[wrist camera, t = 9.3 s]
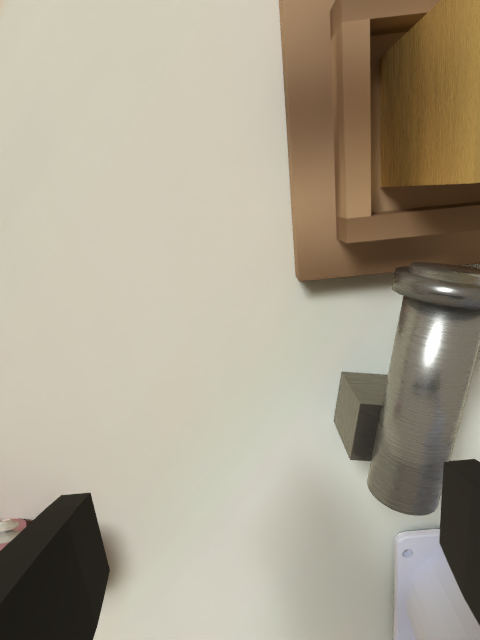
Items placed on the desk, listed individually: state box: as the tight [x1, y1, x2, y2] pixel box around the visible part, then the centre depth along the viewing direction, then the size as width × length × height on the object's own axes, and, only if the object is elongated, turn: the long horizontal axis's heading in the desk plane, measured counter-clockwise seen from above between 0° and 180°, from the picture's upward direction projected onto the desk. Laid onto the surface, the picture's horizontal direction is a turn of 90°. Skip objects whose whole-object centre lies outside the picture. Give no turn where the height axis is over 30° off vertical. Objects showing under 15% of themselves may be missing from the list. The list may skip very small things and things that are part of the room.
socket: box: [279, 0, 480, 281], centre depth 14 cm, size 10×10×2 cm
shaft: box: [334, 262, 480, 515], centre depth 15 cm, size 8×3×6 cm, turn 176°
